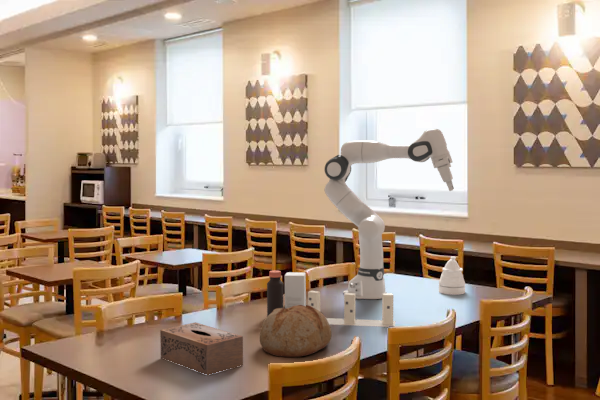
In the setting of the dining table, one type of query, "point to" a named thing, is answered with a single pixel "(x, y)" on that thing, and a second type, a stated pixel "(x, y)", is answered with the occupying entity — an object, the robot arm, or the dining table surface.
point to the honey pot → (452, 279)
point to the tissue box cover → (202, 347)
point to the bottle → (274, 292)
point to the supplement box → (295, 289)
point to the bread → (295, 331)
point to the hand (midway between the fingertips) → (451, 190)
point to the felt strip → (359, 322)
